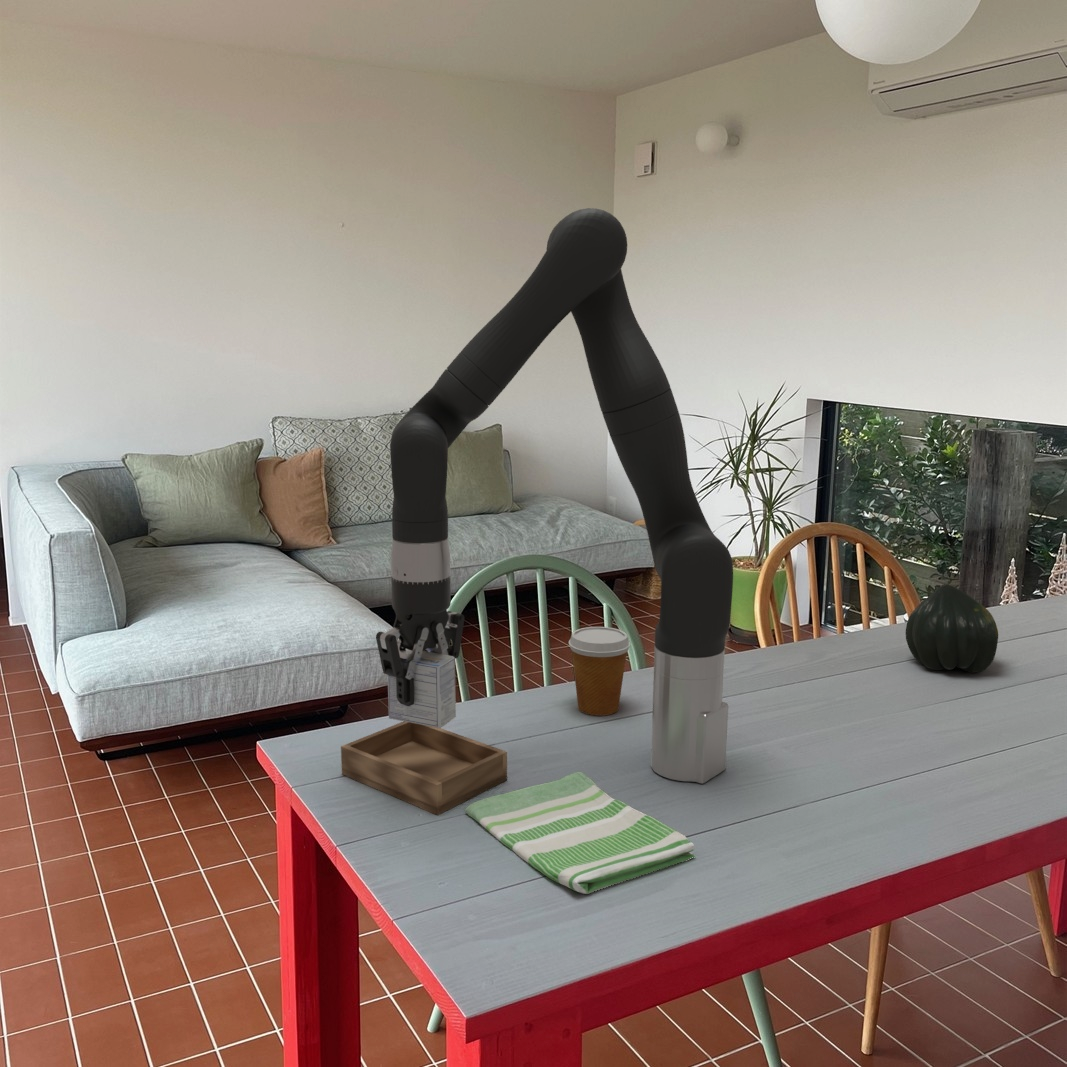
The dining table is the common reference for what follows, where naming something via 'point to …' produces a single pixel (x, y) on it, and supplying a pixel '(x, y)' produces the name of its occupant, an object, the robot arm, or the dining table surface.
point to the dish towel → (580, 833)
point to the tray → (424, 765)
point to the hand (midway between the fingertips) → (422, 697)
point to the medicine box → (427, 692)
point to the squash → (952, 632)
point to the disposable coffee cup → (599, 668)
